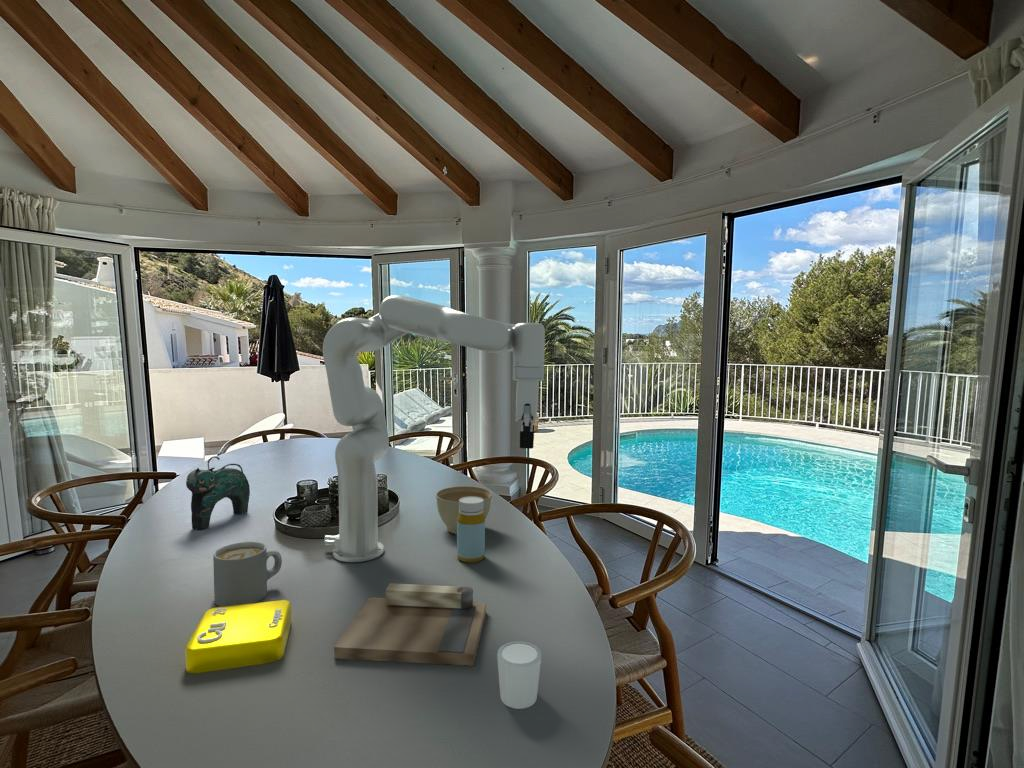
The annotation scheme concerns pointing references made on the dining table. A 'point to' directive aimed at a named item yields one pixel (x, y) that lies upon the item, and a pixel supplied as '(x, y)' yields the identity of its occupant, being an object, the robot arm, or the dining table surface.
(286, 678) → the dining table surface
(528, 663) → the shot glass
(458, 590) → the folding leg
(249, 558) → the coffee mug
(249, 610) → the element tile
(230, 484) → the ceramic cat
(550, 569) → the dining table surface
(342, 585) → the dining table surface
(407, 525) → the dining table surface
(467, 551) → the bottle
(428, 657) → the stool seat
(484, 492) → the planter bowl
